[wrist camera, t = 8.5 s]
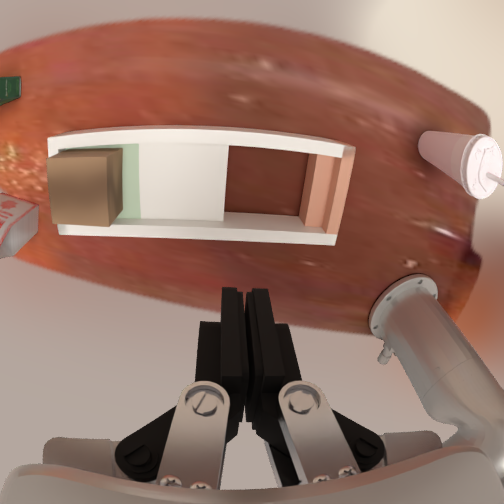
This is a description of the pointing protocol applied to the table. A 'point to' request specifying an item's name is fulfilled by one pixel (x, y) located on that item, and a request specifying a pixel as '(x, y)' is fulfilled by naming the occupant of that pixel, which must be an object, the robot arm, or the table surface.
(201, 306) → the table surface
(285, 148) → the box
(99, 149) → the block
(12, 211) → the milk carton
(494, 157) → the smoothie
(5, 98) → the coffee box
